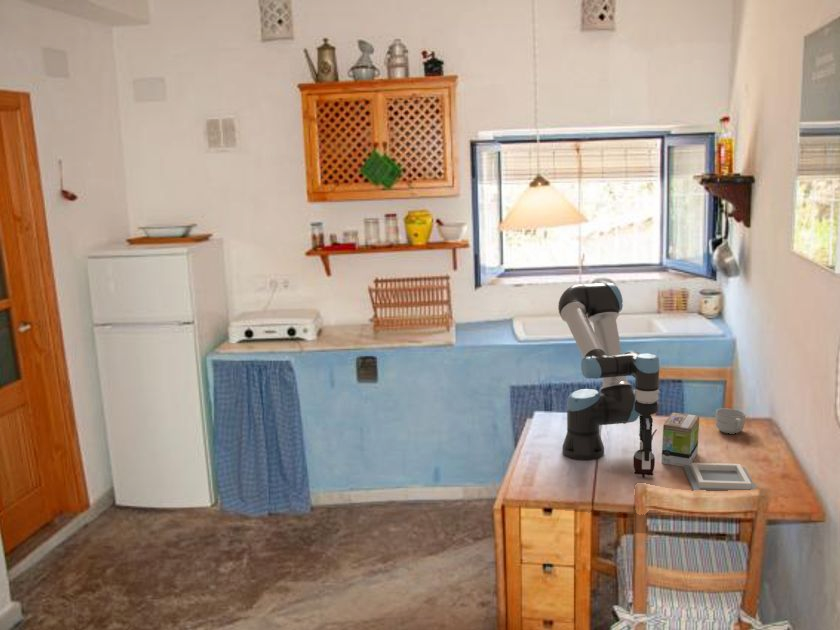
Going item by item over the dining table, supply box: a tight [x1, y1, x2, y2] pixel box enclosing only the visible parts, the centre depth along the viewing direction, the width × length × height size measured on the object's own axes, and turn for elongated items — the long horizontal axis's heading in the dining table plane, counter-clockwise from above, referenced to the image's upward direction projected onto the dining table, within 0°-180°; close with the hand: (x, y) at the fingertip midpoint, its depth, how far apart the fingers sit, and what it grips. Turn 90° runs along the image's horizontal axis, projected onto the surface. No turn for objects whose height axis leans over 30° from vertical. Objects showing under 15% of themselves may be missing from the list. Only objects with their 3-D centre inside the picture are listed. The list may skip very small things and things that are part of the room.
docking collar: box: [683, 462, 758, 491], centre depth 262 cm, size 20×20×3 cm
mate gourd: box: [632, 429, 658, 479], centre depth 267 cm, size 8×8×15 cm
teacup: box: [715, 407, 747, 435], centre depth 304 cm, size 14×11×8 cm
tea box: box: [661, 412, 700, 468], centre depth 281 cm, size 15×10×15 cm, turn 151°
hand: (644, 464), depth 268 cm, fingers closed on mate gourd, 7 cm apart
